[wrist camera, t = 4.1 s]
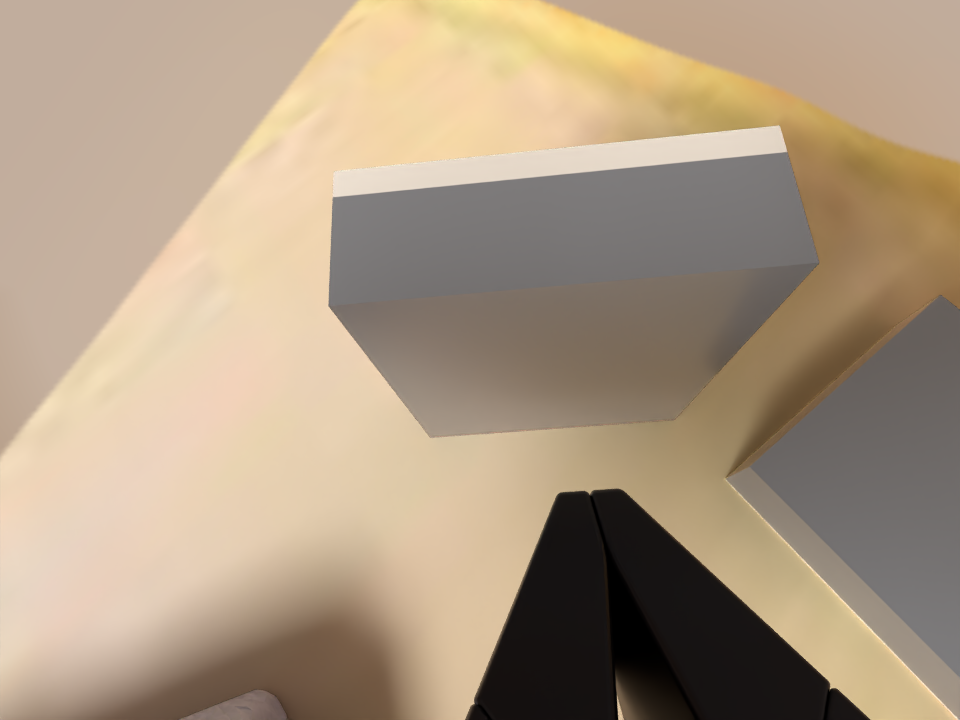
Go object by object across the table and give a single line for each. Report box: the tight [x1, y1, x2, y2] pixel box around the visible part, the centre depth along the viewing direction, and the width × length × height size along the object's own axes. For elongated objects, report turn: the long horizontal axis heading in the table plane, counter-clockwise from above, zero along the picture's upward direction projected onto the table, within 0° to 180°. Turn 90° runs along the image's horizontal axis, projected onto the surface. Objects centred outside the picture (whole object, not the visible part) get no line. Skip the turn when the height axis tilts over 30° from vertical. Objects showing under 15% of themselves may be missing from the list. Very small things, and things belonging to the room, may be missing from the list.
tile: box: [329, 125, 819, 438], centre depth 13 cm, size 2×7×9 cm, turn 93°
